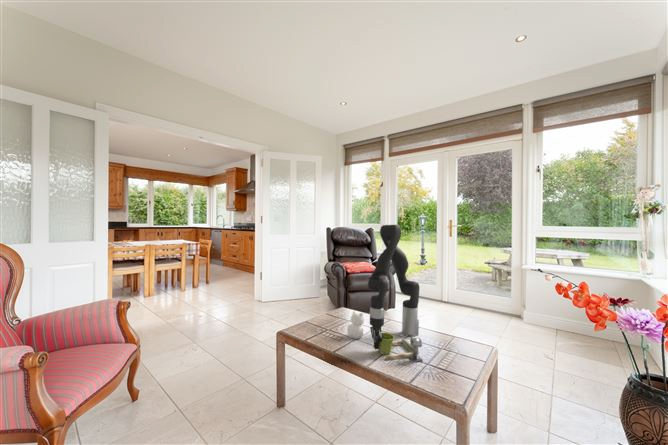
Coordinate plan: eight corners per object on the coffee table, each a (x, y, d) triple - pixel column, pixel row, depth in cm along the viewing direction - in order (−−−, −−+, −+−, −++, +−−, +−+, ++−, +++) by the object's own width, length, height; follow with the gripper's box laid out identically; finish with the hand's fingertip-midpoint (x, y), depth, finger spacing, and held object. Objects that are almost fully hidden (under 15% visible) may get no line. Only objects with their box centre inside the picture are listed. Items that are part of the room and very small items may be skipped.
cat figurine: (366, 336, 162) (367, 312, 162) (354, 342, 153) (355, 316, 153) (355, 332, 168) (356, 308, 168) (342, 337, 159) (343, 312, 159)
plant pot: (395, 350, 144) (396, 334, 144) (391, 358, 135) (392, 341, 136) (378, 346, 148) (379, 331, 148) (373, 353, 139) (374, 336, 140)
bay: (403, 343, 153) (403, 338, 153) (418, 356, 138) (418, 350, 138) (374, 346, 149) (374, 340, 149) (386, 359, 134) (386, 353, 134)
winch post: (417, 356, 138) (417, 331, 138) (422, 361, 133) (423, 335, 133) (404, 357, 136) (405, 332, 136) (409, 362, 131) (410, 336, 132)
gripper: (388, 319, 135) (388, 353, 135) (378, 311, 148) (377, 342, 148) (375, 320, 134) (374, 355, 133) (365, 312, 147) (365, 343, 146)
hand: (376, 348), depth 141 cm, fingers closed
